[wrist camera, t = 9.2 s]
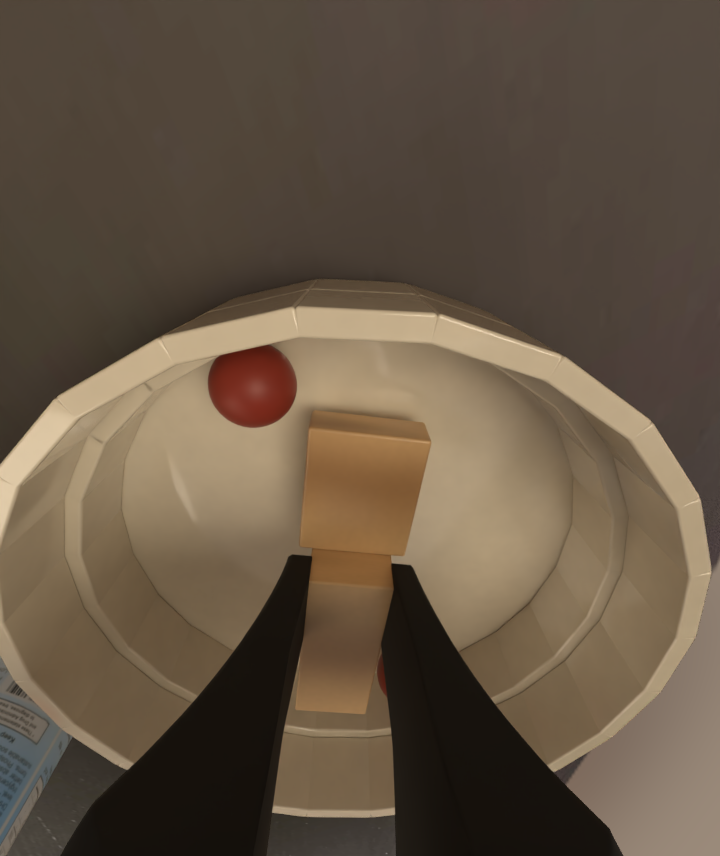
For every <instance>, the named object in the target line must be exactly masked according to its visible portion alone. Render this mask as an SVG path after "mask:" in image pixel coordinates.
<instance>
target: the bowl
mask: <svg viewBox="0 0 720 856" xmlns="http://www.w3.org/2000/svg"><path fill="white" fill-rule="evenodd" d="M265 345H271V346H273V347H275V348H276V349H278V350H279V351H280V352H282V353H283V354H284V355H285V356H286V357H287V359H288V360H289V361H290V363H291V365H292V366H293V369H294V371H295V374H296V379H297V393H296V397H295V400H294V403H293V405H292V406H291V408H290V410H289V411H288V412H287V413H286V414H285V415H284V416H283V417H282V418H281V419H280V420H278V421H277V422H275V423H273V424H271V425H268V426H265V427H259V428H248V427H242V426H239V425H236V424H234V423H232V422H230V421H229V420H227V419H226V418H224V417H223V416H222V415H221V414H220V413H219V412H218V410H217V409H216V408H215V406H214V405H213V403H212V401H211V398H210V396H209V391H208V375H209V371H210V368H211V366H212V364H213V362H214V360H215V359H216V358H217V357H219V356H221V355H224V354H229V353H233V352H238V351H242V350H247V349H251V348H256V347H261V346H265ZM314 410H319V411H328V412H336V413H345V414H354V415H363V416H371V417H380V418H389V419H398V420H406V421H415V422H423V423H425V425H426V428H427V431H428V434H429V436H430V439H431V442H432V443H431V447H430V451H429V456H428V460H427V464H426V468H425V472H424V477H423V481H422V485H421V489H420V493H419V498H418V502H417V506H416V510H415V514H414V519H413V523H412V527H411V531H410V535H409V540H408V544H407V548H406V552H405V555H404V556H392V555H391V559H392V563H394V564H406V565H411V566H412V567H413V568H414V571H415V573H416V575H417V577H418V579H419V582H420V584H421V586H422V588H423V590H424V592H425V594H426V596H427V598H428V600H429V602H430V604H431V606H432V607H433V609H434V611H435V613H436V615H437V617H438V618H439V620H440V622H441V624H442V625H443V627H444V629H445V631H446V632H447V634H448V636H449V637H450V639H451V641H452V642H453V644H454V646H455V647H456V649H457V650H458V652H459V653H460V655H461V657H462V658H463V660H464V661H465V663H466V664H467V666H468V667H469V669H470V670H471V672H472V673H473V675H474V676H475V677H476V679H477V680H478V682H479V683H480V684H481V686H482V687H483V689H484V690H485V691H486V693H487V694H488V695H489V697H490V698H491V699H492V701H493V702H494V703H495V705H496V706H497V707H498V708H499V710H500V711H501V712H502V714H503V715H504V716H505V717H506V719H507V720H508V721H509V722H510V723H511V725H512V726H513V727H514V728H515V729H516V730H517V732H518V733H519V734H520V735H521V736H522V737H523V739H524V740H525V741H526V742H527V743H528V744H529V746H530V747H531V748H532V749H533V750H534V752H535V753H536V754H537V755H538V756H539V757H540V758H541V759H542V761H543V762H544V763H545V764H546V765H547V766H548V767H549V768H550V769H551V770H552V771H553V772H555V771H557V770H559V769H561V768H563V767H564V766H566V765H568V764H569V763H571V762H572V761H574V760H576V759H577V758H579V757H581V756H582V755H584V754H586V753H587V752H589V751H591V750H592V749H594V748H596V747H597V746H599V745H600V744H602V743H604V742H605V741H607V740H609V739H610V738H612V736H614V735H615V734H616V733H618V732H619V731H620V730H621V729H622V728H623V727H624V726H625V725H626V724H627V723H628V722H630V721H631V720H632V719H633V718H634V717H635V716H636V715H637V714H638V713H639V712H640V711H641V710H643V709H644V708H645V707H646V706H647V705H648V704H649V703H650V702H651V701H652V700H653V699H654V698H655V697H657V696H658V695H659V693H660V692H661V691H662V690H663V688H664V687H665V685H666V684H667V682H668V681H669V679H670V677H671V676H672V674H673V673H674V671H675V670H676V668H677V667H678V665H679V663H680V662H681V660H682V659H683V657H684V655H685V654H686V652H687V650H688V649H689V648H690V646H691V645H692V643H693V641H694V640H695V637H696V635H697V631H698V627H699V623H700V619H701V615H702V611H703V607H704V603H705V598H706V595H707V591H708V587H709V583H710V578H711V574H712V573H711V571H712V568H711V562H710V555H709V549H708V542H707V536H706V530H705V523H704V517H703V510H702V504H701V499H700V498H699V494H698V493H697V491H696V490H695V488H694V486H693V485H692V483H691V482H690V480H689V479H688V477H687V475H686V474H685V472H684V471H683V469H682V467H681V466H680V464H679V463H678V461H677V460H676V458H675V456H674V455H673V453H672V452H671V450H670V449H669V447H668V445H667V444H666V442H665V441H664V439H663V438H662V436H661V434H660V433H659V431H658V430H657V428H656V427H655V425H654V423H652V422H651V421H650V419H649V418H647V417H646V416H645V415H643V414H642V413H641V412H639V411H638V410H637V409H635V408H634V407H633V406H631V405H630V404H629V403H627V402H626V401H624V400H623V399H622V398H620V397H619V396H618V395H616V394H615V393H614V392H612V391H611V390H610V389H608V388H607V387H606V386H604V385H603V384H602V383H600V382H599V381H598V380H596V379H595V378H594V377H592V376H591V375H589V374H588V373H587V372H585V371H584V370H583V369H581V368H580V367H579V366H577V365H576V364H575V363H573V362H572V361H571V360H569V359H568V358H567V357H565V356H563V355H562V354H560V353H558V352H556V351H555V350H553V349H551V348H549V347H548V346H546V345H544V344H542V343H541V342H539V341H537V340H536V339H534V338H532V337H530V336H529V335H527V334H525V333H523V332H522V331H520V330H518V329H516V328H515V327H513V326H511V325H509V324H508V323H506V322H504V321H502V320H501V319H499V318H497V317H495V316H494V315H492V314H490V313H489V312H486V311H485V310H483V309H480V308H477V307H474V306H471V305H468V304H465V303H462V302H460V301H457V300H454V299H451V298H448V297H445V296H442V295H439V294H436V293H434V292H431V291H428V290H425V289H422V288H419V287H416V286H413V285H410V284H405V283H397V282H378V281H358V280H339V279H313V280H309V281H305V282H300V283H296V284H292V285H288V286H283V287H279V288H275V289H270V290H266V291H262V292H258V293H253V294H249V295H245V296H240V297H236V298H234V299H231V300H229V301H227V302H225V303H223V304H221V305H220V306H218V307H216V308H214V309H212V310H210V311H208V312H206V313H204V314H202V315H200V316H198V317H196V318H194V319H193V320H191V321H189V322H187V323H185V324H183V325H181V326H179V327H177V328H175V329H173V330H171V331H169V332H167V333H166V334H164V335H162V336H160V337H158V338H156V339H154V340H153V341H151V342H149V343H147V344H146V345H144V346H142V347H140V348H139V349H137V350H135V351H134V352H132V353H130V354H128V355H127V356H125V357H123V358H121V359H120V360H118V361H116V362H115V363H113V364H111V365H109V366H108V367H106V368H104V369H102V370H101V371H99V372H97V373H96V374H94V375H92V376H90V377H89V378H87V379H85V380H84V381H82V382H80V383H78V384H77V385H75V386H73V387H71V388H70V389H68V390H66V391H65V392H63V393H61V394H59V395H58V397H56V398H55V399H53V401H52V402H51V403H50V404H49V405H48V407H47V408H46V409H45V410H44V412H43V413H42V414H41V415H40V416H39V418H38V419H37V420H36V421H35V422H34V424H33V425H32V426H31V427H30V428H29V430H28V431H27V432H26V433H25V435H24V436H23V437H22V438H21V439H20V441H19V442H18V443H17V444H16V445H15V447H14V448H13V449H12V450H11V452H10V453H9V454H8V455H7V456H6V458H5V459H4V460H3V461H2V462H1V464H0V657H1V659H2V661H3V662H4V664H5V666H6V668H7V670H8V672H9V673H10V675H11V677H12V679H13V680H15V683H16V684H17V685H18V686H19V687H20V688H21V689H22V690H23V691H24V692H25V693H26V694H27V695H28V696H29V697H30V698H31V699H32V700H33V701H34V702H35V703H36V704H37V705H38V706H39V707H40V708H41V709H42V710H43V711H44V712H45V713H46V714H47V715H48V716H49V717H50V718H51V719H52V720H53V721H54V722H55V723H56V724H57V725H58V726H59V727H60V728H62V730H63V731H65V732H66V733H68V734H69V735H71V736H72V737H74V738H76V739H77V740H79V741H80V742H82V743H83V744H85V745H86V746H88V747H89V748H91V749H92V750H94V751H95V752H97V753H99V754H100V755H102V756H103V757H105V758H106V759H108V760H109V761H111V762H112V763H114V764H115V765H118V766H120V767H122V768H124V769H127V770H128V769H129V768H130V767H131V766H132V765H133V764H134V763H136V762H137V761H138V760H139V759H140V758H141V757H142V756H143V755H144V754H145V753H146V752H147V751H148V750H149V749H150V748H151V747H152V746H153V744H154V743H155V742H156V741H157V740H158V739H159V738H160V737H161V736H162V735H163V734H164V733H165V732H166V731H167V730H168V729H169V728H170V726H171V725H172V724H173V723H174V722H175V721H176V720H177V719H178V718H179V717H180V716H181V715H182V714H183V713H184V712H185V710H186V709H187V708H188V707H189V706H190V705H191V704H192V702H193V701H194V700H195V699H196V698H197V697H198V695H199V694H200V693H201V692H202V691H203V690H204V688H205V687H206V686H207V685H208V684H209V682H210V681H211V680H212V679H213V678H214V676H215V675H216V674H217V673H218V671H219V670H220V669H221V667H222V666H223V665H224V664H225V662H226V661H227V660H228V658H229V657H230V656H231V654H232V653H233V652H234V650H235V649H236V647H237V646H238V645H239V643H240V642H241V640H242V639H243V637H244V636H245V634H246V633H247V632H248V630H249V629H250V627H251V626H252V624H253V623H254V621H255V620H256V618H257V616H258V615H259V613H260V612H261V610H262V608H263V607H264V605H265V603H266V601H267V600H268V598H269V596H270V595H271V593H272V591H273V589H274V587H275V585H276V584H277V582H278V580H279V578H280V576H281V574H282V571H283V569H284V567H285V564H286V562H287V559H288V557H289V556H290V555H292V554H295V555H306V556H311V552H312V548H303V547H300V546H299V535H300V523H301V511H302V498H303V486H304V473H305V461H306V449H307V436H308V427H309V423H310V419H311V415H312V412H313V411H314ZM381 654H382V649H381V650H380V654H379V658H380V656H381ZM379 658H378V661H379ZM299 662H300V656H299V661H298V666H297V670H296V675H295V680H294V684H293V689H292V694H291V698H290V703H289V708H288V712H287V717H286V722H285V727H284V733H283V738H282V744H281V752H280V759H279V766H278V773H277V780H276V788H275V795H274V802H273V810H272V813H280V814H288V815H295V816H303V817H305V816H307V817H379V816H387V815H395V797H394V770H393V746H392V735H391V725H390V716H389V708H388V700H387V697H386V696H385V695H384V693H383V691H382V690H381V688H380V685H379V682H378V678H377V667H376V671H375V675H374V680H373V684H372V688H371V692H370V697H369V701H368V705H367V709H366V713H365V714H351V713H335V712H319V711H304V710H296V709H295V703H296V693H297V683H298V672H299ZM377 665H378V663H377Z"/></svg>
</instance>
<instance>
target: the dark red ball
mask: <svg viewBox="0 0 720 856" xmlns="http://www.w3.org/2000/svg"><path fill="white" fill-rule="evenodd" d="M208 391H209V396H210V398H211V401H212V403H213V405H214V406H215V408H216V409H217V410H218V412H219V413H220V414H221V415H222V416H223V417H224V418H226V419H227V420H229V421H230V422H232V423H234V424H236V425H239V426H242V427H248V428H259V427H265V426H268V425H271V424H273V423H275V422H277V421H278V420H280V419H281V418H282V417H283V416H284V415H285V414H286V413H287V412H288V411H289V410H290V408H291V406H292V405H293V403H294V400H295V397H296V393H297V379H296V374H295V371H294V369H293V366H292V365H291V363H290V361H289V360H288V359H287V357H286V356H285V355H284V354H283V353H282V352H280V351H279V350H278V349H276V348H275V347H273V346H271V345H265V346H261V347H256V348H251V349H247V350H242V351H238V352H233V353H229V354H224V355H221V356H219V357H217V358H216V359H215V360H214V362H213V364H212V366H211V368H210V371H209V375H208Z"/></svg>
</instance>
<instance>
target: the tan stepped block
mask: <svg viewBox="0 0 720 856" xmlns="http://www.w3.org/2000/svg"><path fill="white" fill-rule="evenodd" d="M431 443H432V442H431V439H430V436H429V434H428V431H427V428H426V425H425V423H423V422H415V421H406V420H398V419H389V418H380V417H371V416H363V415H354V414H345V413H336V412H328V411H319V410H314V411H313V412H312V415H311V419H310V423H309V427H308V436H307V449H306V461H305V473H304V486H303V498H302V511H301V523H300V535H299V546H300V547H303V548H312V552H311V556H312V564H311V571H310V579H309V587H308V597H307V607H306V617H305V626H304V636H303V642H302V647H301V652H300V662H299V672H298V683H297V693H296V703H295V709H296V710H304V711H319V712H335V713H351V714H365V713H366V709H367V705H368V701H369V697H370V692H371V688H372V684H373V680H374V675H375V671H376V667H377V663H378V658H379V654H380V650H381V642H382V637H383V633H384V629H385V625H386V620H387V616H388V612H389V608H390V603H391V599H392V595H393V591H394V585H393V576H392V567H391V564H392V559H391V555H392V556H404V555H405V552H406V548H407V544H408V540H409V535H410V531H411V527H412V523H413V519H414V514H415V510H416V506H417V502H418V498H419V493H420V489H421V485H422V481H423V477H424V472H425V468H426V464H427V460H428V456H429V451H430V447H431Z"/></svg>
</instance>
